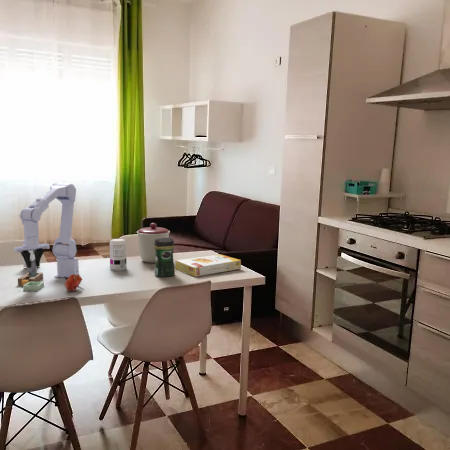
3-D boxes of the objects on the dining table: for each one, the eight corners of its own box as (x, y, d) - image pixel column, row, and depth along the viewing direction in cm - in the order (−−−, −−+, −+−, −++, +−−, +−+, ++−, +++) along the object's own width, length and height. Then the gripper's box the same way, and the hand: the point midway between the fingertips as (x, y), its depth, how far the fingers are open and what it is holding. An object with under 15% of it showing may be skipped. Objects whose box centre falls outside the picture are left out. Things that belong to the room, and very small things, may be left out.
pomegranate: (81, 292, 209) (62, 279, 207) (90, 280, 208) (71, 267, 206) (76, 299, 202) (57, 286, 200) (86, 286, 201) (66, 273, 199)
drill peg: (36, 274, 208) (35, 259, 207) (37, 276, 206) (37, 260, 204) (28, 275, 207) (27, 259, 205) (29, 277, 204) (29, 261, 203)
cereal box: (241, 259, 245) (194, 266, 229) (241, 270, 245) (194, 277, 229) (219, 253, 261) (174, 259, 245) (219, 263, 262) (174, 269, 246)
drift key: (33, 282, 215) (33, 277, 215) (28, 286, 210) (27, 280, 210) (27, 282, 215) (26, 276, 215) (21, 286, 210) (21, 280, 210)
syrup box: (33, 269, 239) (32, 241, 237) (23, 268, 240) (21, 240, 238) (40, 266, 245) (39, 239, 242) (29, 266, 246) (28, 238, 244)
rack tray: (44, 286, 210) (43, 281, 209) (38, 290, 203) (38, 285, 203) (29, 286, 210) (29, 281, 209) (23, 290, 203) (23, 285, 203)
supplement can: (106, 269, 241) (106, 240, 239) (116, 266, 248) (115, 238, 246) (120, 271, 238) (119, 242, 236) (129, 267, 245) (129, 239, 243)
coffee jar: (171, 272, 238) (171, 235, 235) (176, 276, 231) (176, 238, 228) (152, 274, 234) (152, 237, 231) (156, 278, 227) (156, 239, 224)
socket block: (43, 279, 222) (42, 272, 221) (33, 285, 211) (33, 279, 210) (28, 278, 222) (27, 272, 221) (18, 285, 211) (17, 278, 210)
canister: (172, 263, 256) (172, 225, 252) (138, 265, 251) (137, 226, 248) (167, 256, 273) (167, 220, 270) (135, 258, 268) (135, 221, 265)
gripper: (44, 232, 211) (45, 262, 213) (10, 236, 201) (12, 267, 203) (51, 235, 206) (52, 265, 208) (16, 238, 196) (18, 270, 198)
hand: (32, 266), depth 205 cm, fingers closed on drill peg, 3 cm apart
